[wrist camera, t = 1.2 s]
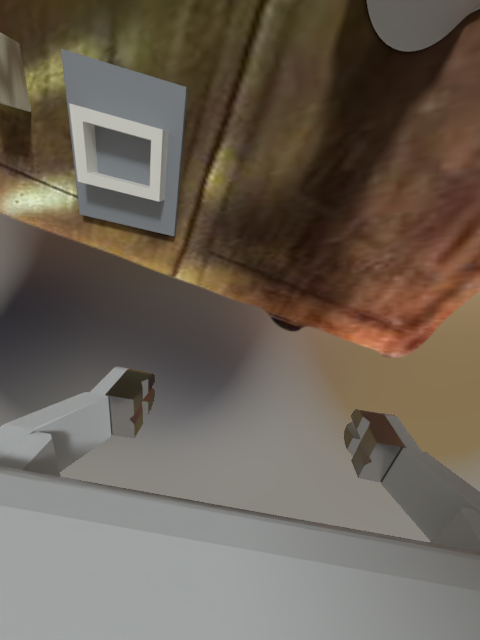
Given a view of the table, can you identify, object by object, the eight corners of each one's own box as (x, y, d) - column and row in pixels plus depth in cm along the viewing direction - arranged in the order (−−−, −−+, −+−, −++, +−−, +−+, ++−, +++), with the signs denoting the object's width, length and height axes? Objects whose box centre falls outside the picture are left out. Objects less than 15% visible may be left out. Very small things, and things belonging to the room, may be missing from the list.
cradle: (67, 53, 31) (44, 37, 28) (187, 89, 33) (181, 79, 29) (83, 213, 41) (68, 217, 38) (175, 234, 43) (169, 240, 40)
